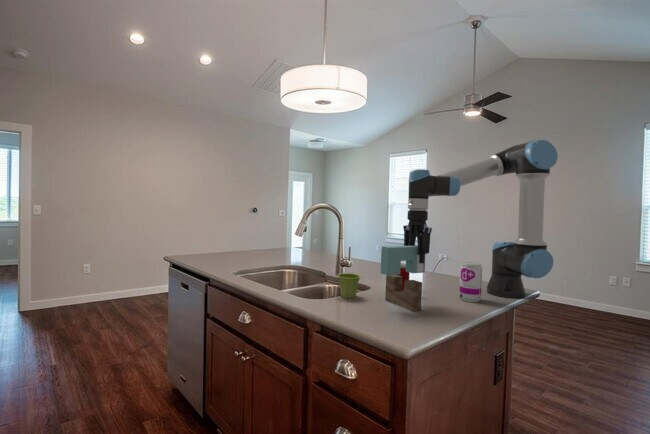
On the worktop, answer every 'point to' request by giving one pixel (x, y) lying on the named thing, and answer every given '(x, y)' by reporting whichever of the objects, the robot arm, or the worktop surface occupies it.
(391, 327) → the worktop surface
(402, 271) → the beverage can
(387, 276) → the brown wooden notched block
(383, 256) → the teal tunnel brick
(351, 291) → the plant pot
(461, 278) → the supplement can
